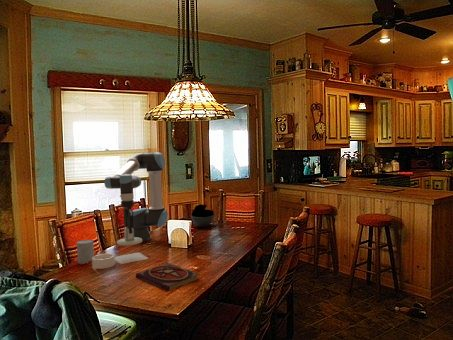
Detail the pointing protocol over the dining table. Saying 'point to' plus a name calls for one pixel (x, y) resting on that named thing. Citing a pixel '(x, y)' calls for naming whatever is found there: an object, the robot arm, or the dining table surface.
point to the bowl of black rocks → (202, 216)
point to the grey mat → (130, 258)
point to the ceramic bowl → (103, 261)
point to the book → (167, 276)
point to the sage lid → (129, 241)
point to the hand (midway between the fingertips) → (129, 237)
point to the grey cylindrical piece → (85, 251)
